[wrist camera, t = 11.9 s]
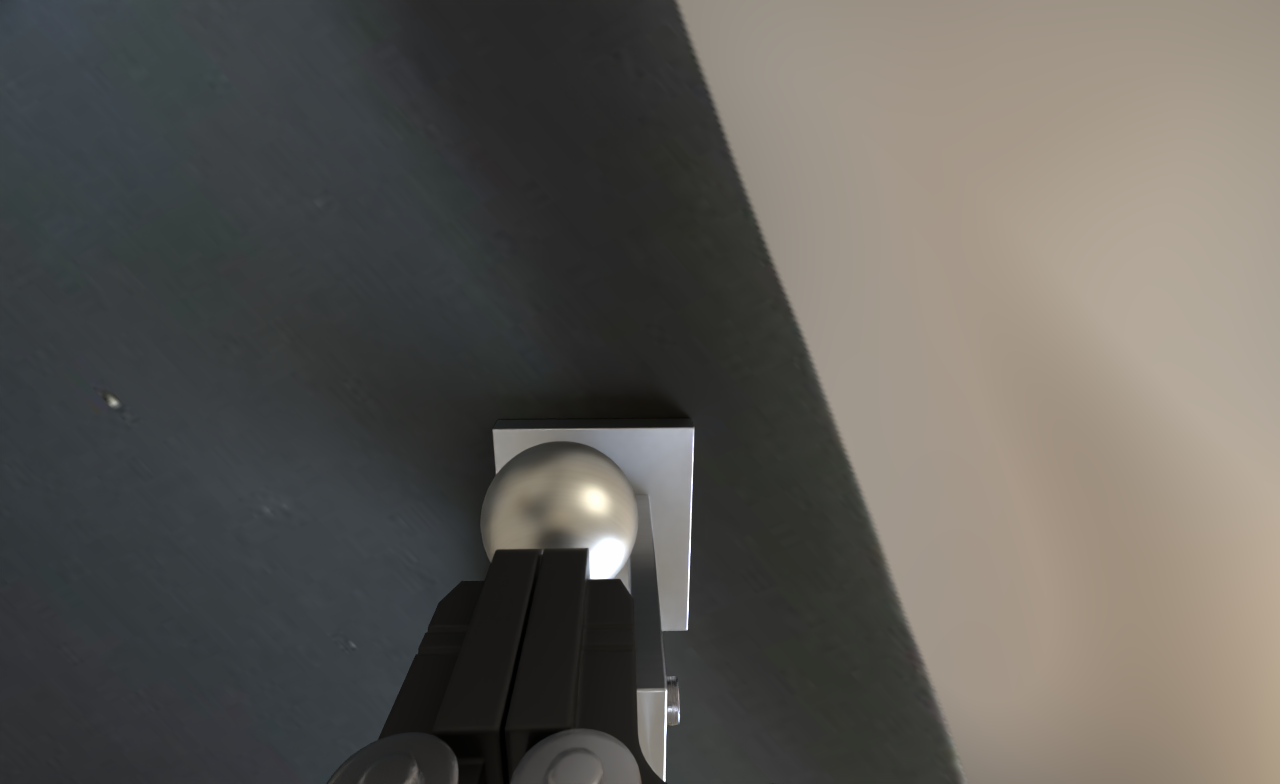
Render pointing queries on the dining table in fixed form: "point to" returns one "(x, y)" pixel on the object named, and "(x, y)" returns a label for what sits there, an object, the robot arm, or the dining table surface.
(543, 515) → the tap lever
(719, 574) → the dining table surface
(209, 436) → the dining table surface
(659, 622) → the tap bracket
